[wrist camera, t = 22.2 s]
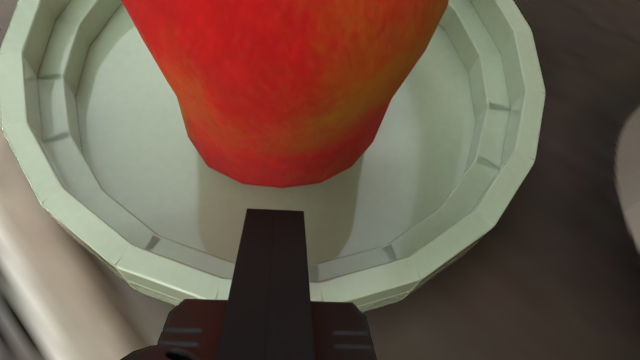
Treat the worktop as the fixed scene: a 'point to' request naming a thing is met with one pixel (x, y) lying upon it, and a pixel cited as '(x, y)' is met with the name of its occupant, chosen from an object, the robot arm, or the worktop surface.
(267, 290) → the robot arm
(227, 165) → the apple
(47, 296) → the worktop surface
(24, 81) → the bowl
